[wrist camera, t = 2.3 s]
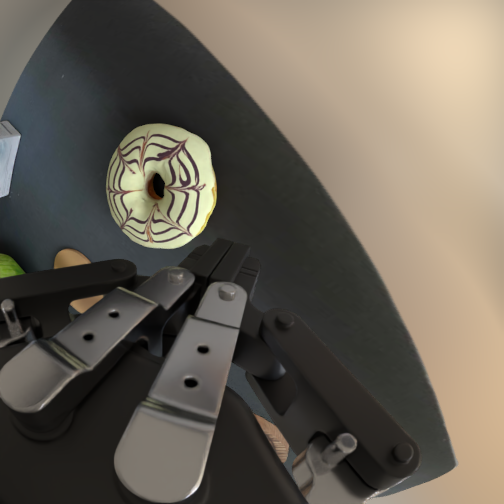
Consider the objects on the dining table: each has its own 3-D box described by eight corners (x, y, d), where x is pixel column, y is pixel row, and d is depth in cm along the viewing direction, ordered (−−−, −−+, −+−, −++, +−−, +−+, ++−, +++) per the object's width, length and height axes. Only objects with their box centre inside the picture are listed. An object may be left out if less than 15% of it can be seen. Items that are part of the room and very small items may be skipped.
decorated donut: (224, 121, 21) (209, 118, 17) (223, 243, 25) (210, 260, 21) (122, 130, 22) (97, 131, 19) (128, 234, 26) (106, 247, 23)
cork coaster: (57, 235, 29) (55, 236, 29) (110, 272, 29) (108, 274, 29) (55, 291, 33) (54, 292, 33) (103, 327, 33) (102, 328, 33)
